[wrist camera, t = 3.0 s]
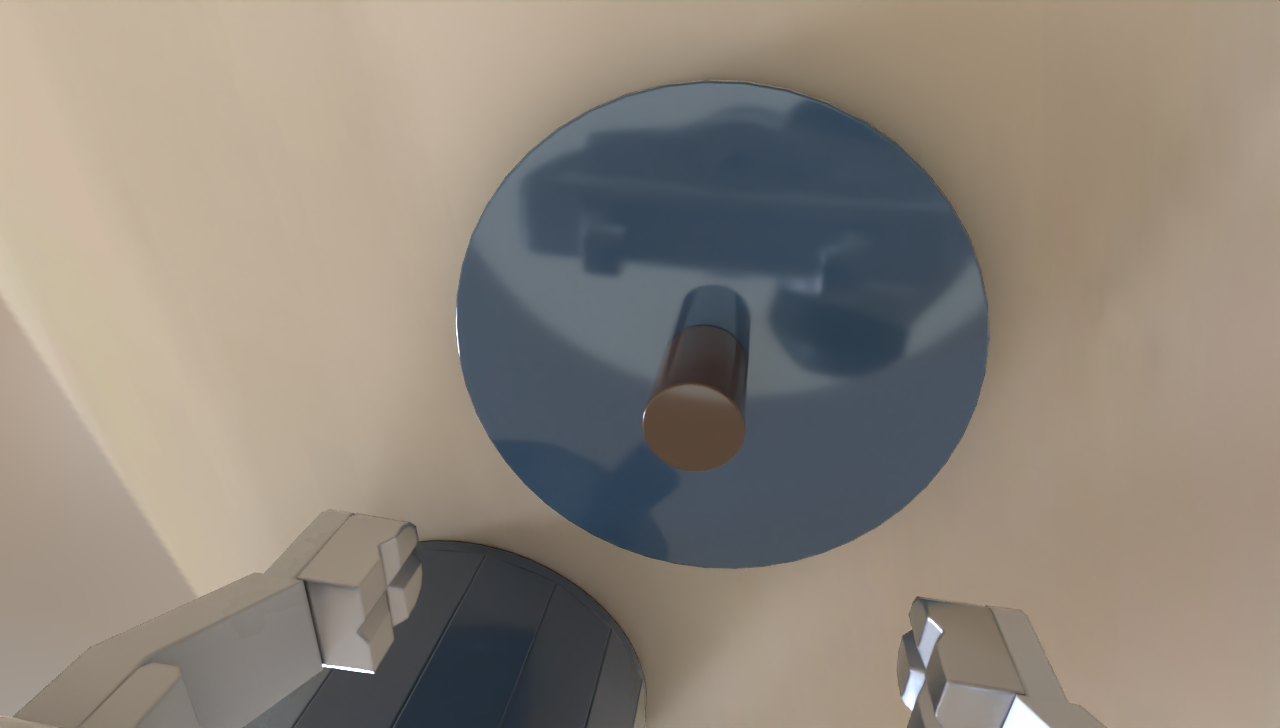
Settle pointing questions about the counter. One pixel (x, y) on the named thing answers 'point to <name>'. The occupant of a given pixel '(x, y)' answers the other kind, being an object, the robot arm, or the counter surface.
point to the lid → (722, 324)
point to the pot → (483, 656)
